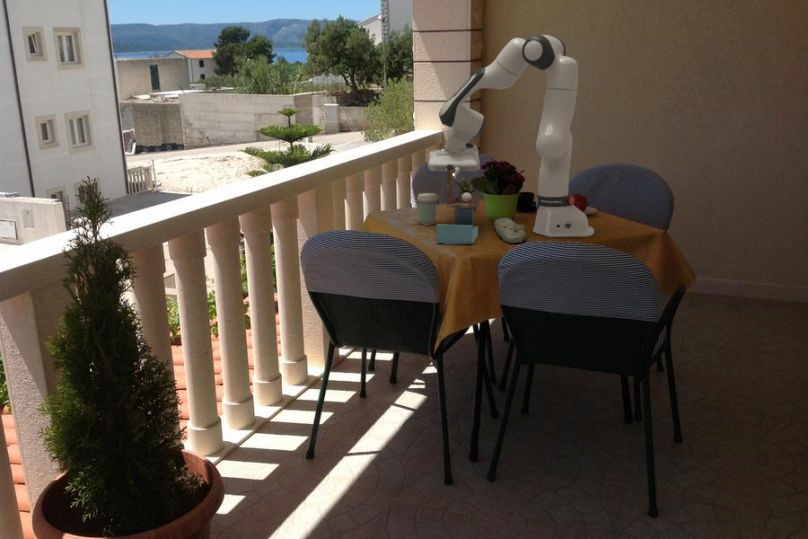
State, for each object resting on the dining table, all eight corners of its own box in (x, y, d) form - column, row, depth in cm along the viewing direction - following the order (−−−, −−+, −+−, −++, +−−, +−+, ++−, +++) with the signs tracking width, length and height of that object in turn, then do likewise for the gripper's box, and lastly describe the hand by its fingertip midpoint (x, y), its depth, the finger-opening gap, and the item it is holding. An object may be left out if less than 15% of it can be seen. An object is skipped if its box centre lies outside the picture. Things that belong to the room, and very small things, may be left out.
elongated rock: (514, 227, 294) (489, 229, 294) (513, 214, 293) (489, 216, 293) (531, 243, 260) (503, 245, 260) (530, 228, 259) (502, 230, 259)
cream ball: (472, 203, 285) (472, 193, 285) (470, 201, 281) (471, 191, 281) (462, 203, 286) (462, 193, 286) (460, 201, 282) (461, 191, 282)
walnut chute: (479, 210, 286) (480, 164, 284) (470, 213, 267) (472, 164, 265) (450, 209, 289) (450, 164, 287) (440, 212, 270) (440, 164, 267)
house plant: (440, 212, 319) (439, 174, 315) (463, 207, 327) (463, 171, 323) (461, 216, 308) (461, 178, 304) (485, 212, 316) (485, 174, 312)
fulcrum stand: (478, 230, 283) (478, 206, 280) (475, 233, 277) (475, 209, 275) (452, 229, 285) (452, 206, 283) (449, 233, 280) (449, 209, 277)
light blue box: (477, 236, 273) (477, 218, 271) (472, 245, 261) (472, 225, 259) (443, 235, 276) (443, 217, 274) (436, 243, 264) (436, 224, 262)
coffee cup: (436, 226, 292) (436, 196, 289) (415, 225, 294) (415, 196, 291) (439, 221, 300) (439, 192, 297) (419, 221, 302) (418, 192, 299)
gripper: (428, 144, 288) (423, 173, 282) (480, 144, 283) (476, 173, 277) (431, 154, 294) (426, 182, 287) (482, 154, 289) (478, 183, 282)
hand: (451, 178), depth 282 cm, fingers closed
